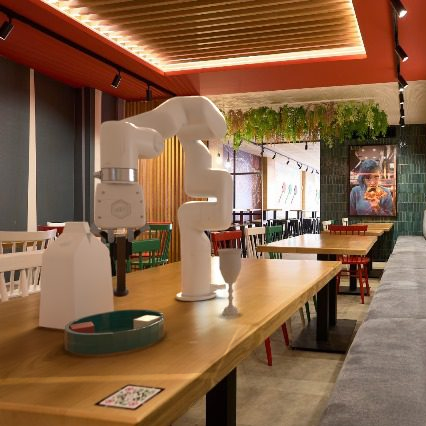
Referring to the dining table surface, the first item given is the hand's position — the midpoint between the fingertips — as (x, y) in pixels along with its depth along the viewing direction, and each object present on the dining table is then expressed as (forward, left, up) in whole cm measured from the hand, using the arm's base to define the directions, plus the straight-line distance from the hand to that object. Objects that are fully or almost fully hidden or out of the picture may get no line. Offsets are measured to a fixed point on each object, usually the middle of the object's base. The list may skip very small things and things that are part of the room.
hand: (121, 259), depth 89 cm
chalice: (-27, -6, -18) cm, 33 cm away
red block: (+8, +2, -17) cm, 19 cm away
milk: (+9, -18, -18) cm, 27 cm away
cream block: (-5, +3, -17) cm, 18 cm away
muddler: (0, -2, -8) cm, 8 cm away
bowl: (+1, +1, -18) cm, 18 cm away
